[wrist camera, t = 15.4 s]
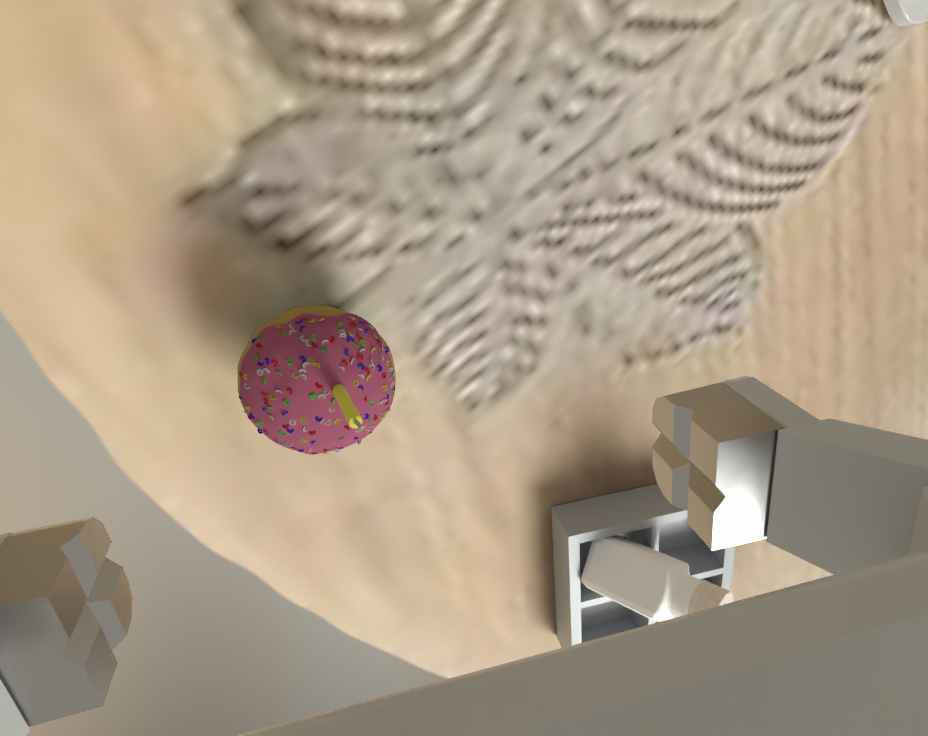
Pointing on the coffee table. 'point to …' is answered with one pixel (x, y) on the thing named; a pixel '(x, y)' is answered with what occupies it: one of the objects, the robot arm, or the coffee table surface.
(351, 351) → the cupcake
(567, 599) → the grey compartment tray
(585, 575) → the pepper shaker
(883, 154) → the coffee table surface
